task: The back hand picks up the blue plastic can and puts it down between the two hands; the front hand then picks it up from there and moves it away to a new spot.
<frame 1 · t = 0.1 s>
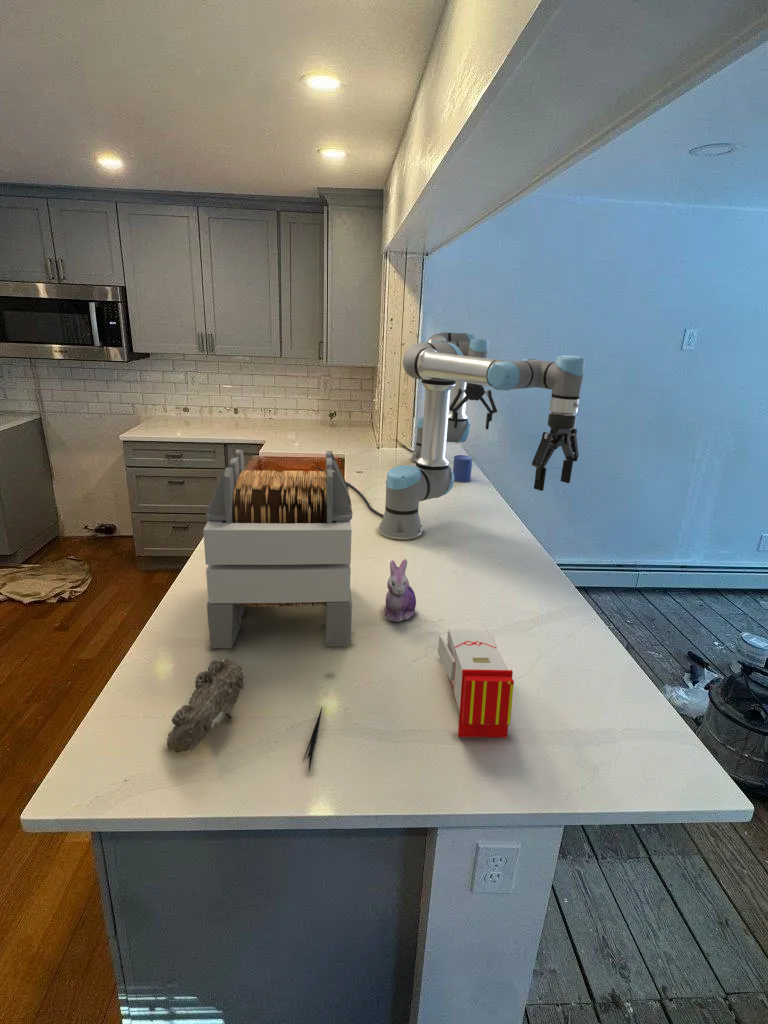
front hand: (552, 485, 166), 28 cm above the counter, tool pointing down, fingers open, 13 cm apart
back hand: (471, 428, 243), 28 cm above the counter, tool pointing down, fingers open, 13 cm apart
fossil: (212, 717, 108), on the counter
figurine: (399, 614, 147), on the counter
toy: (469, 691, 119), on the counter
can: (461, 479, 268), on the counter
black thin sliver: (319, 719, 109), on the counter
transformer: (284, 612, 146), on the counter
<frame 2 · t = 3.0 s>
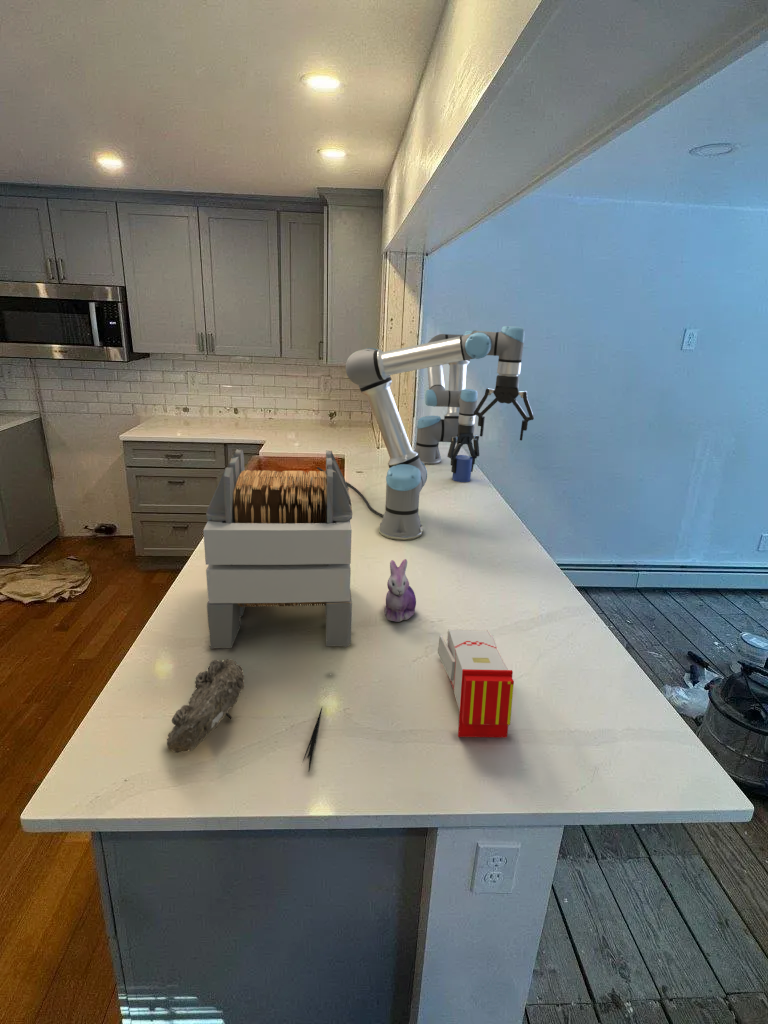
front hand: (501, 437, 196), 34 cm above the counter, tool pointing down, fingers open, 13 cm apart
back hand: (462, 471, 266), 4 cm above the counter, tool pointing down, fingers closed on can, 8 cm apart
can: (461, 479, 268), on the counter, touching back hand
everything else where it was.
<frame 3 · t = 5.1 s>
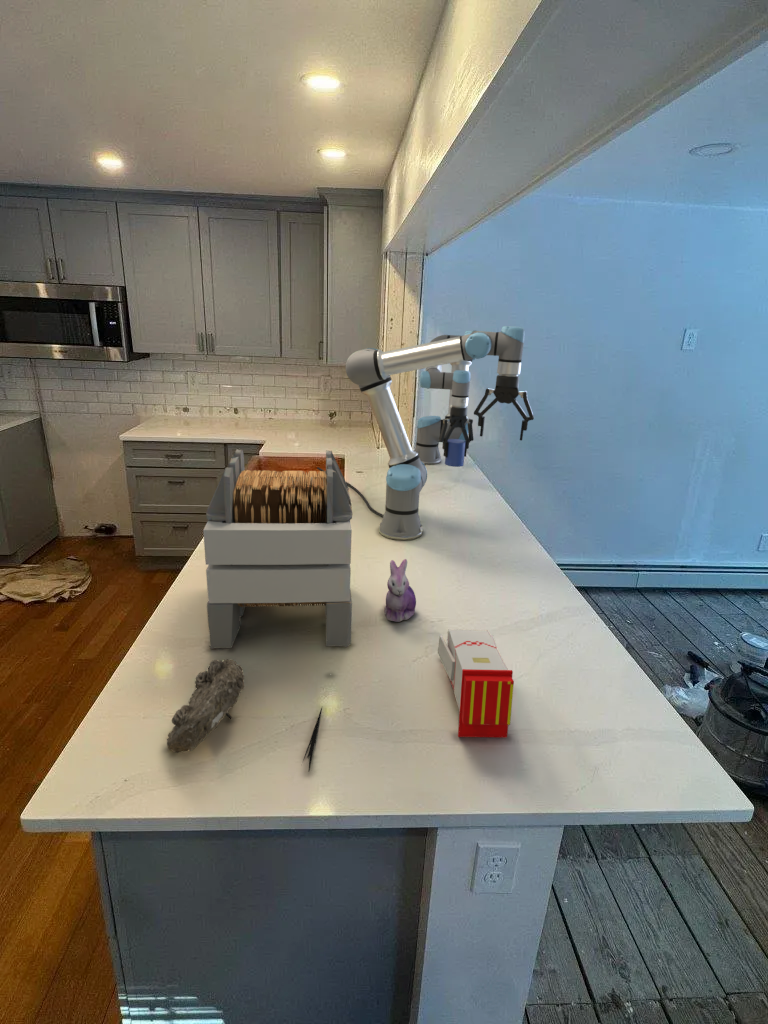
front hand: (501, 437, 196), 34 cm above the counter, tool pointing down, fingers open, 13 cm apart
back hand: (454, 456, 259), 12 cm above the counter, tool pointing down, fingers closed on can, 8 cm apart
can: (454, 464, 260), point 9 cm above the counter, touching back hand
everything else where it was.
when the back hand's fingers open (5 cm above the counter, at t = 7.7 s): can drops 1 cm, on the counter.
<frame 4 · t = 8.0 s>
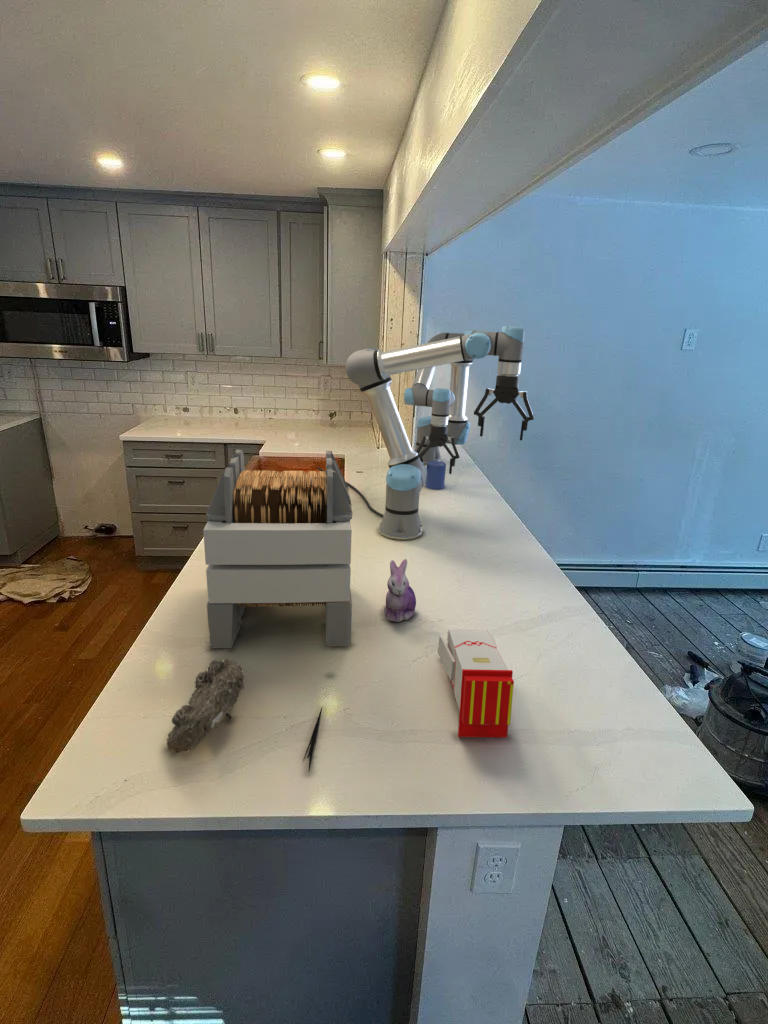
front hand: (501, 437, 196), 34 cm above the counter, tool pointing down, fingers open, 13 cm apart
back hand: (435, 472, 253), 7 cm above the counter, tool pointing down, fingers open, 12 cm apart
can: (434, 486, 255), on the counter
everything else where it was.
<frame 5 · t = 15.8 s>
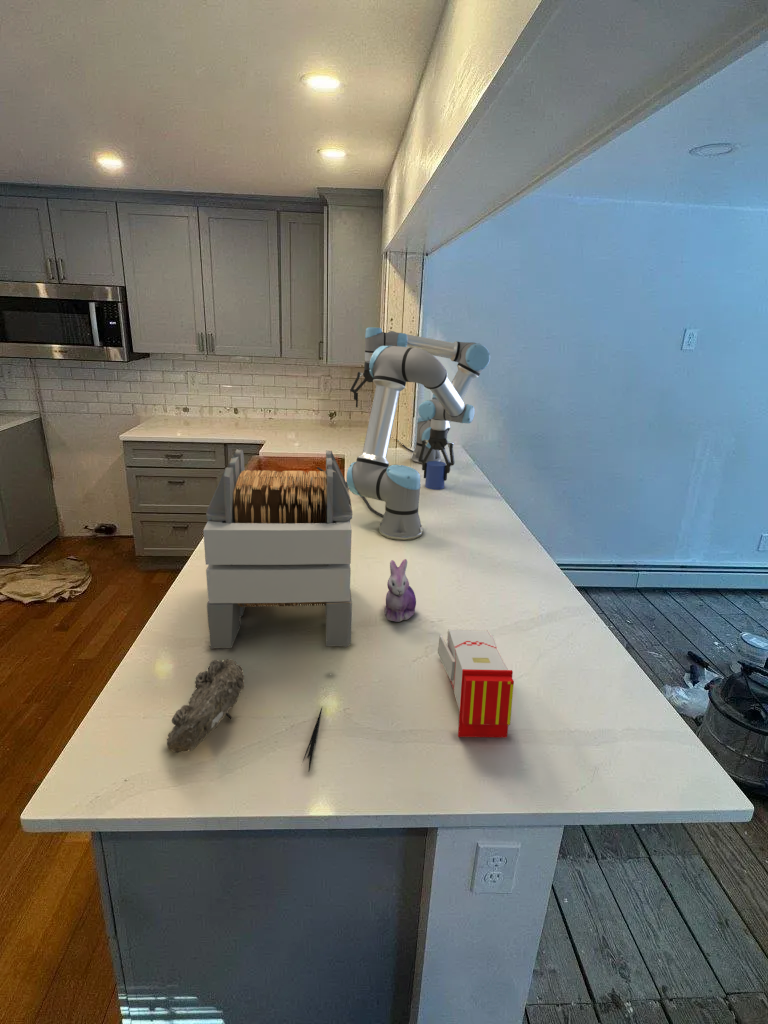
front hand: (435, 478, 254), 4 cm above the counter, tool pointing down, fingers closed on can, 8 cm apart
back hand: (370, 407, 273), 29 cm above the counter, tool pointing down, fingers open, 13 cm apart
can: (434, 486, 255), on the counter, touching front hand
everything else where it was.
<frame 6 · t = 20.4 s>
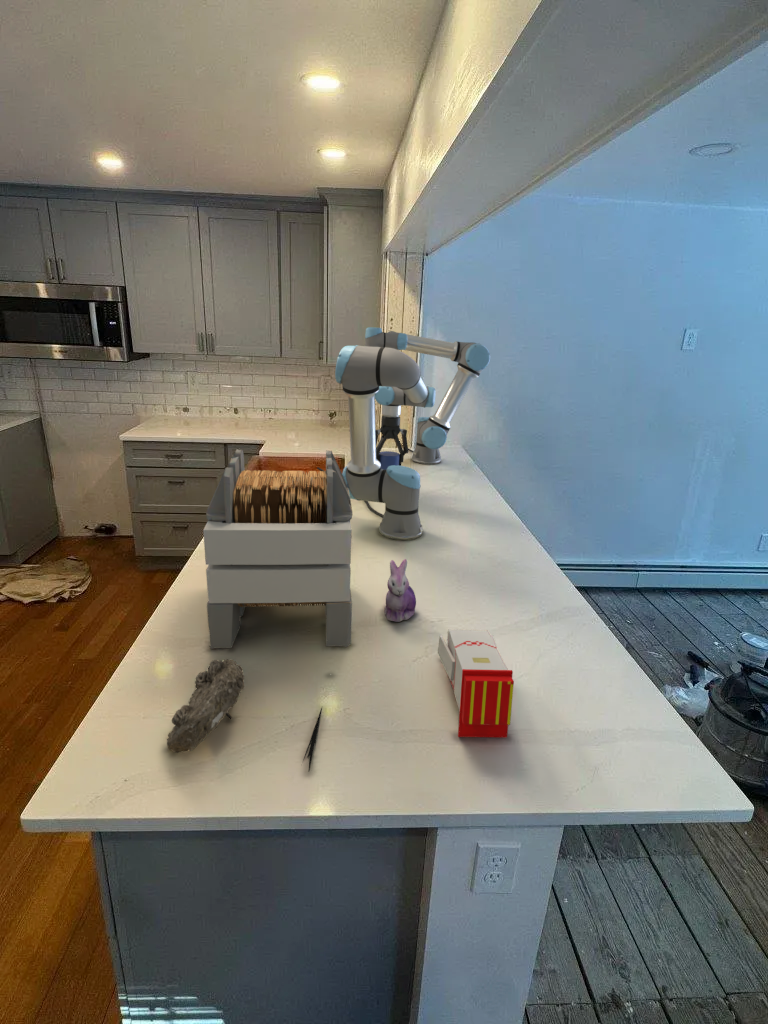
front hand: (388, 470, 233), 12 cm above the counter, tool pointing down, fingers closed on can, 8 cm apart
back hand: (370, 407, 273), 29 cm above the counter, tool pointing down, fingers open, 13 cm apart
can: (387, 479, 235), point 8 cm above the counter, touching front hand
everything else where it was.
when the front hand's fingers open (5 cm above the counter, at t = 25.4 s): can drops 1 cm, on the counter.
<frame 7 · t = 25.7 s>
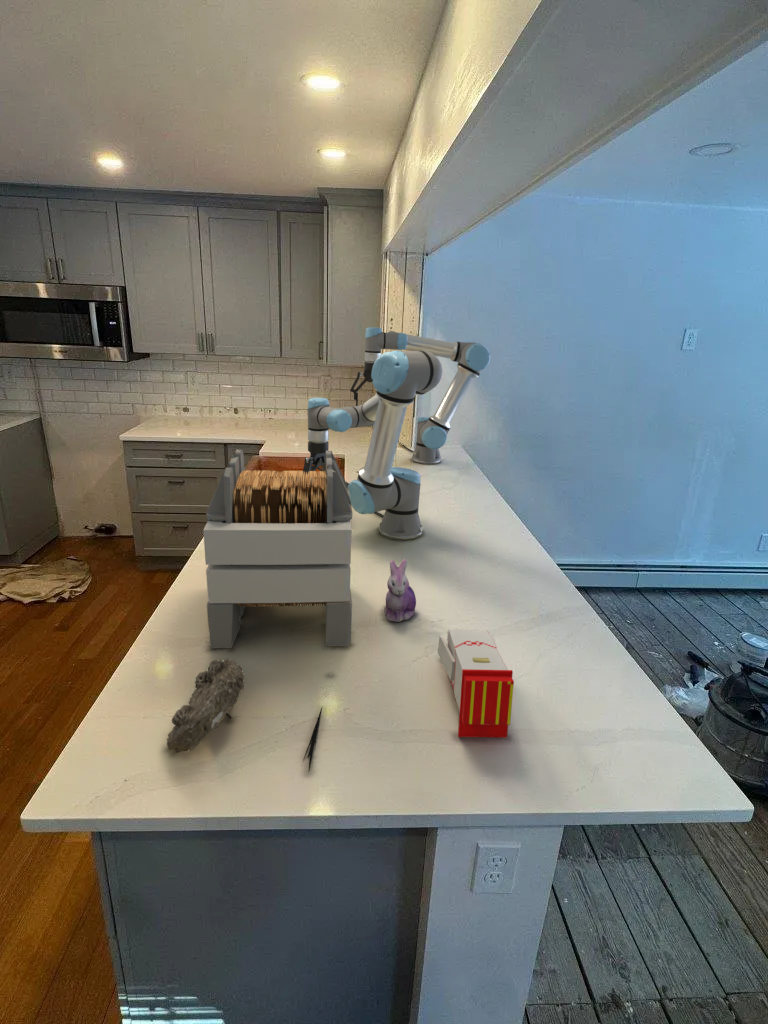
front hand: (318, 496, 214), 6 cm above the counter, tool pointing down, fingers open, 12 cm apart
back hand: (370, 407, 273), 29 cm above the counter, tool pointing down, fingers open, 13 cm apart
can: (317, 512, 217), on the counter
everything else where it was.
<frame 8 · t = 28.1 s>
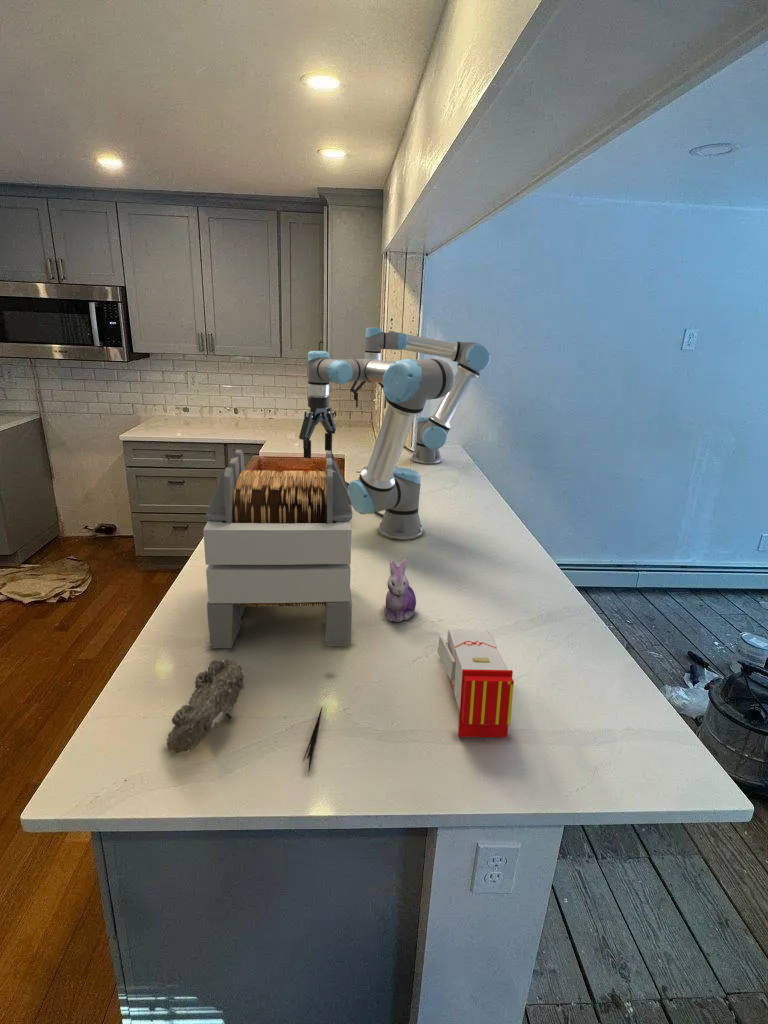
front hand: (318, 454, 209), 23 cm above the counter, tool pointing down, fingers open, 13 cm apart
back hand: (370, 407, 273), 29 cm above the counter, tool pointing down, fingers open, 13 cm apart
nothing on the counter moved.
at the end: can inside the target area (0.1 cm from its centre), on the counter; can tilted 0°; the two hands never held the can at the same time; the front hand is holding nothing; the back hand is holding nothing; can at rest at the end (0.0 cm/s) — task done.
